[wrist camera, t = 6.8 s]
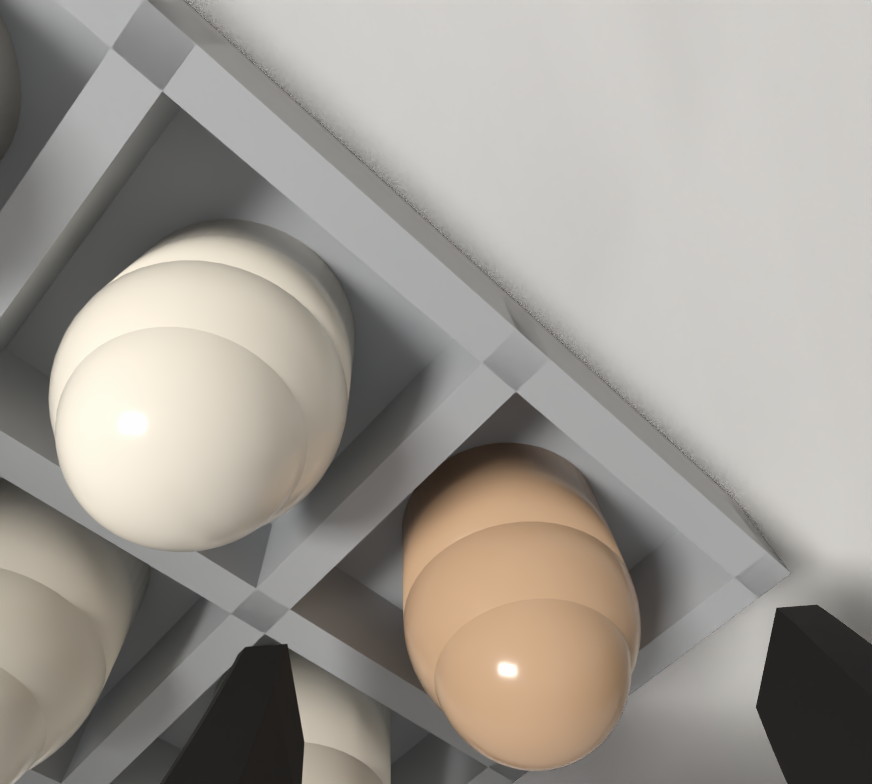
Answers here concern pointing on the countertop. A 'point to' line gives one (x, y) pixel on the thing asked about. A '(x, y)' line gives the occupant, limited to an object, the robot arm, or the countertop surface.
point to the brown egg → (518, 605)
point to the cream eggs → (175, 466)
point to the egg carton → (368, 397)
